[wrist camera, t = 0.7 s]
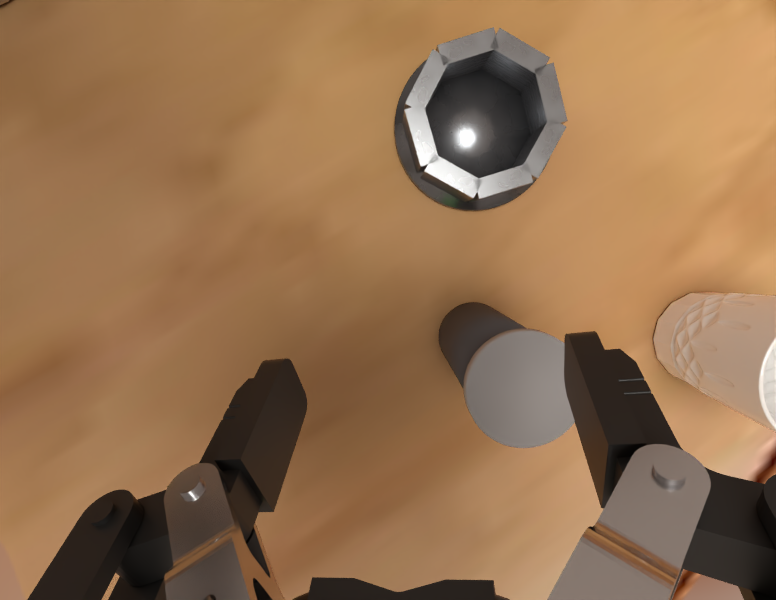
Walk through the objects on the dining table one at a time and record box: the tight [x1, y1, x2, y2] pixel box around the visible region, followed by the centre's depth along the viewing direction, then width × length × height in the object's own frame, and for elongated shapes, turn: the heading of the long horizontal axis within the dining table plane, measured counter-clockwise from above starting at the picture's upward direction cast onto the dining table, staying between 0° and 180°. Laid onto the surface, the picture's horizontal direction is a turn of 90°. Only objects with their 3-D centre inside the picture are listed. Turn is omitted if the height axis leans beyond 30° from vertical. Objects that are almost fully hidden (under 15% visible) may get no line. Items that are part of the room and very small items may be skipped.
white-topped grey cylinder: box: [439, 303, 575, 448], centre depth 26 cm, size 6×6×12 cm
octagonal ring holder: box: [394, 27, 567, 211], centre depth 29 cm, size 11×11×4 cm
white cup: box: [653, 292, 776, 433], centre depth 28 cm, size 8×8×10 cm
